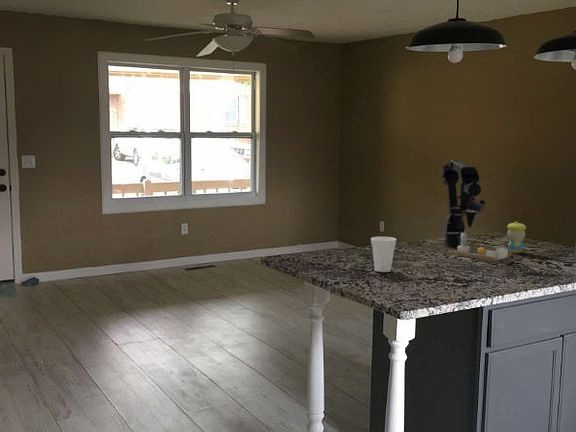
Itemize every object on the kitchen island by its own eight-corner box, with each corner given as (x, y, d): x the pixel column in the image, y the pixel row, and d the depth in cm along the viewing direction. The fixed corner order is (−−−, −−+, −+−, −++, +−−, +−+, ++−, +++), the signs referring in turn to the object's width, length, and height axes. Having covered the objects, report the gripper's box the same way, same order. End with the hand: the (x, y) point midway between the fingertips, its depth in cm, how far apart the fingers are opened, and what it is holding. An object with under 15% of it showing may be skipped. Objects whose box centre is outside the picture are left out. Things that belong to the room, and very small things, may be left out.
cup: (365, 269, 251) (366, 237, 249) (386, 267, 255) (387, 235, 253) (378, 274, 242) (379, 241, 240) (400, 272, 245) (401, 239, 244)
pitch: (447, 255, 281) (447, 250, 281) (466, 250, 293) (466, 246, 292) (493, 262, 266) (493, 257, 266) (511, 257, 277) (511, 252, 277)
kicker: (457, 251, 285) (457, 233, 284) (461, 250, 287) (462, 232, 286) (465, 252, 282) (465, 234, 281) (469, 251, 285) (470, 233, 283)
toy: (521, 252, 290) (523, 220, 288) (526, 256, 281) (528, 223, 279) (503, 252, 291) (505, 219, 289) (508, 255, 282) (510, 222, 280)
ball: (475, 255, 278) (476, 247, 278) (479, 254, 281) (480, 246, 280) (483, 256, 276) (483, 248, 275) (486, 255, 278) (487, 247, 278)
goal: (486, 258, 271) (486, 250, 271) (497, 255, 278) (497, 247, 278) (496, 260, 268) (497, 252, 267) (507, 257, 275) (508, 249, 274)
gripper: (472, 196, 269) (470, 232, 271) (493, 194, 282) (491, 228, 284) (449, 194, 277) (447, 229, 279) (470, 192, 290) (468, 225, 292)
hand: (464, 228), depth 283 cm, fingers open, 9 cm apart
